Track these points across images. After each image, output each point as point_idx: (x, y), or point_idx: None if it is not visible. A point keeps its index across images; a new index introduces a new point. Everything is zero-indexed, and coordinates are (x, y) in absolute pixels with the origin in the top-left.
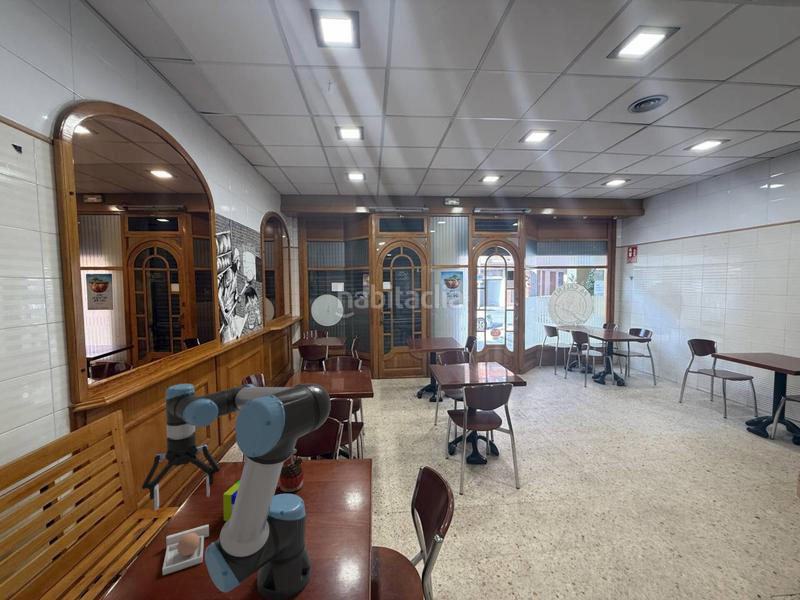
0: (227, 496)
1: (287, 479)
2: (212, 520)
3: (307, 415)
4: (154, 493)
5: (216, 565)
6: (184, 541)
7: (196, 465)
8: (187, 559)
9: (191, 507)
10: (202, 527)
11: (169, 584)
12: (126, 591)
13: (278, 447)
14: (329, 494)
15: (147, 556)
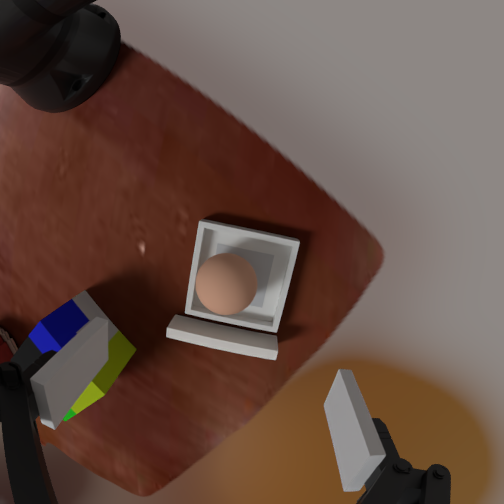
0: (95, 379)
1: None
2: (162, 368)
3: None
4: (376, 434)
5: None
6: (237, 277)
7: (47, 497)
8: (235, 251)
9: (206, 440)
10: (183, 334)
11: (286, 192)
12: (371, 241)
13: None
14: None
15: (319, 337)
